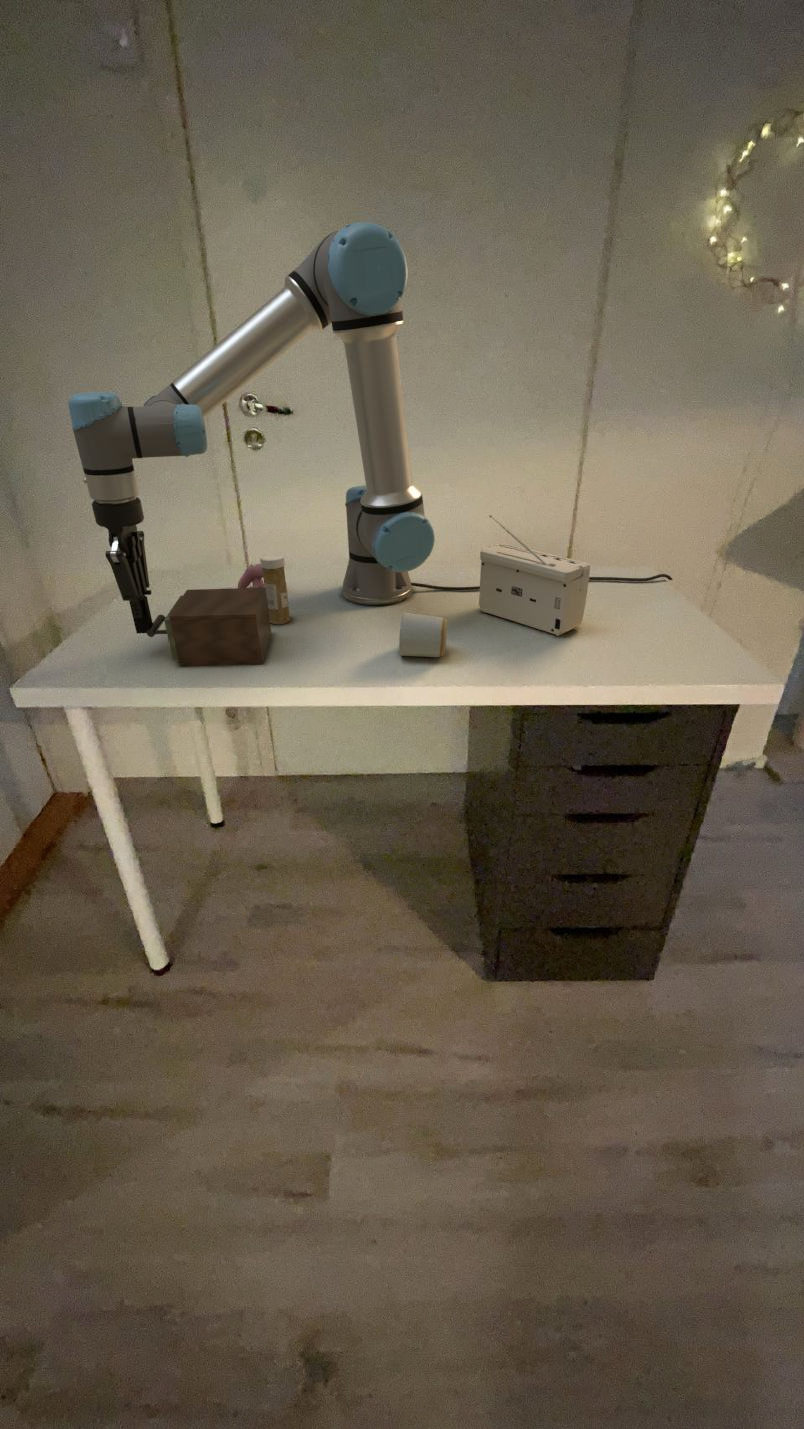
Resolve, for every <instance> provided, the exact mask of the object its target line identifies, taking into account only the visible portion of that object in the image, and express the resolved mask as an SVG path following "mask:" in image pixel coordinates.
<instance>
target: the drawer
mask: <svg viewBox="0 0 804 1429" xmlns="http://www.w3.org/2000/svg"><path fill="white" fill-rule="evenodd" d="M182 596H183V595H180V596H178V599H177V601H176V602H175V603H174V604H173V606H172V607H171V609H170V610H169V612H168V613H167V615H166V616H165V615H164V614H158V615H157V616H156V617H155V619H154V620H153V621H152V622H153V623H152V625H151V626H150V628H149V629H148V631H147V633H146V636H148V637H150V638H154V637H155V636H156V635H166V636H167V640H168V644H169V649H170V653H171V658H172V661H179V660H178V655H177V651H176V646H175V641H174V637H173V632H172V627H171V623H170V618H169V616H170V614H171V613H172V611H173V610H174V608H175V607H176V605H177V604H178V602H179V601H180V599H181V598H182ZM163 624H164V627H165V629H160V628H161V627H162V625H163Z"/></svg>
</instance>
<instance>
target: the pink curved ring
mask: <svg viewBox="0 0 804 1429" xmlns="http://www.w3.org/2000/svg"><path fill="white" fill-rule="evenodd" d="M251 583H252V588H264V579H263V572H262V567H261V563H257V564H256V563H254V564H251V563H250V564H249V566H248V567H246V568H245V570H244V571H243V574H242V575H241V577H240V578H239V580H238V582H237V588H249V586H250V585H251Z"/></svg>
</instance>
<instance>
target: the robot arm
mask: <svg viewBox="0 0 804 1429" xmlns="http://www.w3.org/2000/svg"><path fill="white" fill-rule="evenodd" d="M407 262H408V261H407V258H406V255H405V251H404V249H403V247H402V245H401V244H400V242H399V240H398V239H397V238H396V236H395V235H394V234H392V232H391V231H389V230H388V229H387V228H385V227H384V226H382V225H380V224H377V223H374V222H367V221H366V222H364V221H363V222H359V221H356V222H354V223H351V224H346V225H344V226H343V227H342V228H341V229H339V230H336V231H333V232H331V233H329V234H328V235H326V236H325V237H324V238H322V240H321V241H320V242H319V243H318V244H317V245H316V246H315V247H314V248H313V250H312V251H310V253H309V254H308V255H307V257H305V258H304V260H303V261H302V262H301V263H300V264H299V265H297V267H296V268H294V269H293V270H292V271H291V272H290V273H289V274H288V275H286V276H285V278H284V285H283V288H282V289H281V290H280V291H278V292H277V293H276V294H275V295H274V296H272V297H271V298H270V299H269V300H268V301H266V302H265V303H264V304H263V305H261V307H259V308H258V309H257V310H256V311H254V312H253V313H252V314H251V315H250V316H248V317H247V318H246V319H245V320H244V321H243V322H242V323H240V324H239V325H238V326H237V327H235V328H234V329H233V330H232V331H230V333H228V334H227V335H226V336H225V337H224V338H222V339H221V340H220V341H219V342H218V343H216V345H215V346H213V347H212V348H210V350H208V351H207V352H206V353H205V354H204V355H202V356H200V358H199V359H198V360H196V361H195V362H193V363H192V365H191V366H189V367H188V368H187V369H186V370H184V371H183V372H182V373H181V374H180V375H179V376H177V378H175V379H174V380H173V381H172V382H171V383H169V384H168V385H167V386H166V387H164V388H163V389H162V390H161V391H160V392H159V393H158V394H156V395H152V396H151V397H149V398H148V399H147V400H146V401H145V402H144V403H143V405H142V406H128V405H123V403H122V401H121V400H120V396H119V395H118V394H117V393H115V392H107V391H104V392H101V391H100V392H99V391H94V392H92V391H91V392H80V393H75V394H73V395H71V396H70V398H69V399H68V400H67V404H68V411H69V416H70V420H71V426H72V429H71V430H72V432H73V436H74V439H75V443H76V447H77V451H78V455H79V459H80V464H81V466H82V471H83V473H84V474H83V475H84V477H83V483H84V484H85V485H86V486H87V490H88V495H89V498H90V499H91V500H93V501H92V503H91V508H92V513H93V515H94V521H95V524H96V525H97V526H99V527H101V528H105V529H107V530H108V533H107V534H108V545H109V547H110V550H106V551H105V553H104V555H105V558H106V559H107V561H108V563H109V565H110V567H111V571H112V573H113V576H114V580H115V581H116V583H117V584H116V585H117V587H118V590H119V592H120V596H121V598H122V601H124V602H125V601H126V602H129V606H130V612H131V616H132V619H133V624H134V628H135V632H136V634H147V631H148V629H149V628H150V626H151V625H152V623H153V622H154V621H153V618H152V614H151V609H150V604H149V600H148V596H150V595H152V590H151V589H149V588H150V579H149V571H148V564H147V554H146V548H145V532H144V531H143V530H138V527H137V526H138V525H139V524H142V523H143V522H144V519H145V515H144V511H143V505H142V500H141V499H140V498H139V497H138V496H139V494H140V490H139V485H138V484H139V483H138V479H137V476H136V471H135V467H134V463H133V459H144V458H146V459H147V458H162V457H163V458H165V457H167V458H168V457H185V458H188V457H190V456H196V455H204V454H205V453H207V450H208V438H207V431H206V425H205V419H207V418H208V417H209V416H210V415H211V414H213V413H214V412H215V411H216V410H218V409H219V408H220V407H221V406H222V405H223V404H225V403H226V402H227V401H228V400H229V399H230V398H232V397H233V396H234V395H236V394H237V393H238V392H239V391H240V390H242V389H244V387H246V385H248V384H249V383H250V382H251V381H253V379H255V378H257V376H259V375H260V374H261V373H262V372H263V371H265V370H266V369H267V368H268V367H270V366H271V365H272V364H273V363H275V362H276V361H277V360H278V359H279V358H280V357H281V356H282V355H284V354H285V353H287V351H289V350H290V349H291V348H292V347H294V346H295V345H296V344H297V343H299V342H300V341H301V340H302V339H303V338H305V337H307V335H308V334H309V333H310V332H312V331H314V332H318V333H319V332H322V331H323V330H324V329H325V328H327V327H328V326H329V325H331V329H332V334H334V335H335V336H336V337H337V338H338V339H339V340H340V341H342V343H343V345H344V350H345V351H344V352H345V357H346V358H345V359H346V364H347V371H348V376H349V384H350V391H351V397H352V403H353V409H354V414H355V415H354V417H355V423H356V429H357V436H358V443H359V448H360V455H361V462H362V468H363V474H364V482H365V484H363V485H357V486H352V487H350V488H348V489H347V491H346V493H345V503H344V504H345V505H344V506H345V508H346V509H345V510H346V511H345V512H346V513H345V514H346V527H347V529H346V530H347V541H348V542H347V544H348V545H347V546H348V547H347V548H348V563H347V566H346V571H345V574H344V578H343V582H342V596H343V597H344V598H345V599H346V600H347V601H349V602H352V603H355V604H359V605H365V606H383V605H392V604H395V603H400V602H402V601H404V600H406V599H408V598H409V597H410V596H411V595H412V590H413V588H412V587H417V588H424V589H425V588H426V589H431V590H439V591H440V590H442V591H475V590H480V585H476V586H439V585H433V584H427V583H419V582H412V581H411V578H410V575H409V572H411V571H413V570H416V569H417V568H419V567H421V566H422V565H423V564H424V563H425V562H426V560H427V559H428V558H429V557H430V556H431V554H432V552H433V549H434V546H435V541H436V540H435V538H436V537H435V530H434V527H433V525H432V524H431V522H430V520H429V518H427V517H426V515H425V507H424V498H423V491H422V490H421V489H420V488H419V487H417V486H416V485H415V484H414V483H413V482H414V481H413V475H412V474H413V473H412V465H411V457H410V456H411V455H410V448H409V438H408V430H407V422H406V420H407V419H406V414H405V404H404V394H403V387H402V377H401V371H400V370H401V368H400V360H399V353H398V352H399V351H398V343H397V333H398V332H399V330H400V329H401V327H402V325H403V324H404V313H403V304H402V298H403V296H404V293H405V292H406V288H407V284H408V274H409V270H408V263H407ZM660 578H666V579H667V580H668V581H673V578H672V577H671V576H670V575H669V574H666V573H659V574H656V575H652V576H649V577H618V576H616V577H615V576H589V581H619V582H649V581H653V580H656V579H660Z"/></svg>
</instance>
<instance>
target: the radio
mask: <svg viewBox="0 0 804 1429" xmlns="http://www.w3.org/2000/svg"><path fill="white" fill-rule="evenodd" d="M488 517H489V518H490V519H493V520H494V521H495V522H496V523H497V524H498V525H499V526H500V527H501V528H502V529H503V530H505V532H506V533H508V534H509V535H510V536H511V537H512V538H513V539H514V540H515V541H516V542H518V543H519V544H520V545H521V546H522V547H521V546H517V545H513V544H508V543H504V542H498V543H496V544H493V545H488V546H486V547H485V548H482V549H481V550H480V555H479V556H480V557H479V558H480V559H479V560H480V577H479V586H480V589H479V592H478V593H479V595H478V606H479V608H480V611H481V612H483V613H484V614H485V613H487V614H490V615H493V616H496V617H500V618H502V619H506V620H509V621H513V622H515V623H518V624H522V625H525V626H527V627H531V628H534V629H537V630H541V631H543V632H546V633H549V634H553V635H555V636H557V637H559V636H561V635H563V634H565V633H567V632H569V631H571V630H573V629H575V628H577V627H578V626H579V625H581V624H582V623H583V620H584V615H585V609H586V604H587V596H588V589H589V582H590V580H589V577H590V574H591V564H590V563H588V562H585V561H580V560H576V559H572V558H568V557H564V556H560V555H555V554H551V553H546V552H543V551H538V550H535V549H534V550H533V549H531V548H530V547H529V546H528V545H527V544H525V543H524V542H523V541H522V540H521V539H519V538H518V537H517V536H516V535H515V534H513V533H512V532H511V531H510V530H509V529H508V528H507V527H505V526H504V525H503V524H502V523H500V522H499V521H498V520H497V519H495V518H494V517H493V515H492V514H489V515H488Z"/></svg>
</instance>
